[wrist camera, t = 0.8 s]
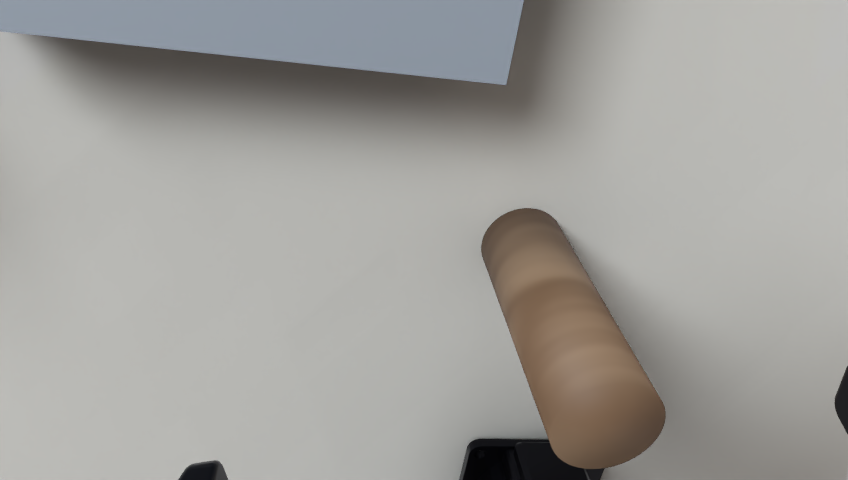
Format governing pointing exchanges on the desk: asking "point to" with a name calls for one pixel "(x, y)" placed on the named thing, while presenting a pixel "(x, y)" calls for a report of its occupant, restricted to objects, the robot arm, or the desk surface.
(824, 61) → the desk surface
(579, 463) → the dowel
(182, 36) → the socket block
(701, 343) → the desk surface
